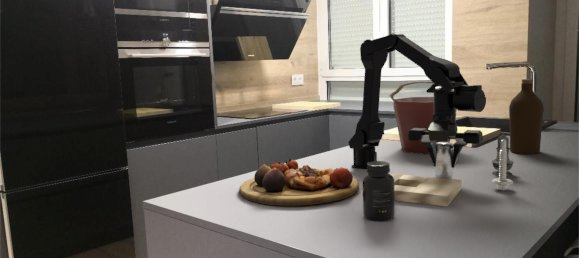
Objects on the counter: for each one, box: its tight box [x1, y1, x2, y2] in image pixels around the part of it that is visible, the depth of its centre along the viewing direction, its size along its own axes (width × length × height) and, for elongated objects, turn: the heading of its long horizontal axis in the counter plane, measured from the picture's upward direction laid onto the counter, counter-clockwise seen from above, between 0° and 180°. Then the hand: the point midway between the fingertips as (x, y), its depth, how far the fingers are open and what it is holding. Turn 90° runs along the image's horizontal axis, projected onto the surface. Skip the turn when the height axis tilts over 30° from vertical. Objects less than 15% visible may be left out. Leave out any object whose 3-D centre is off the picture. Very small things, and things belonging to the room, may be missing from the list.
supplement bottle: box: [362, 160, 396, 222], centre depth 106 cm, size 7×7×12 cm
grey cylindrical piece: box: [434, 141, 454, 179], centre depth 133 cm, size 5×5×10 cm
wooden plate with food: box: [238, 158, 360, 207], centre depth 131 cm, size 32×32×8 cm
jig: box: [390, 173, 462, 207], centre depth 123 cm, size 18×16×2 cm
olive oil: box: [508, 78, 545, 155], centre depth 168 cm, size 11×11×25 cm
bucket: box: [389, 80, 458, 155], centre depth 179 cm, size 24×22×25 cm
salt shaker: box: [491, 132, 515, 177], centre depth 139 cm, size 6×6×12 cm
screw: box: [491, 139, 514, 192], centre depth 124 cm, size 13×5×5 cm
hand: (444, 166), depth 133 cm, fingers closed on grey cylindrical piece, 4 cm apart
